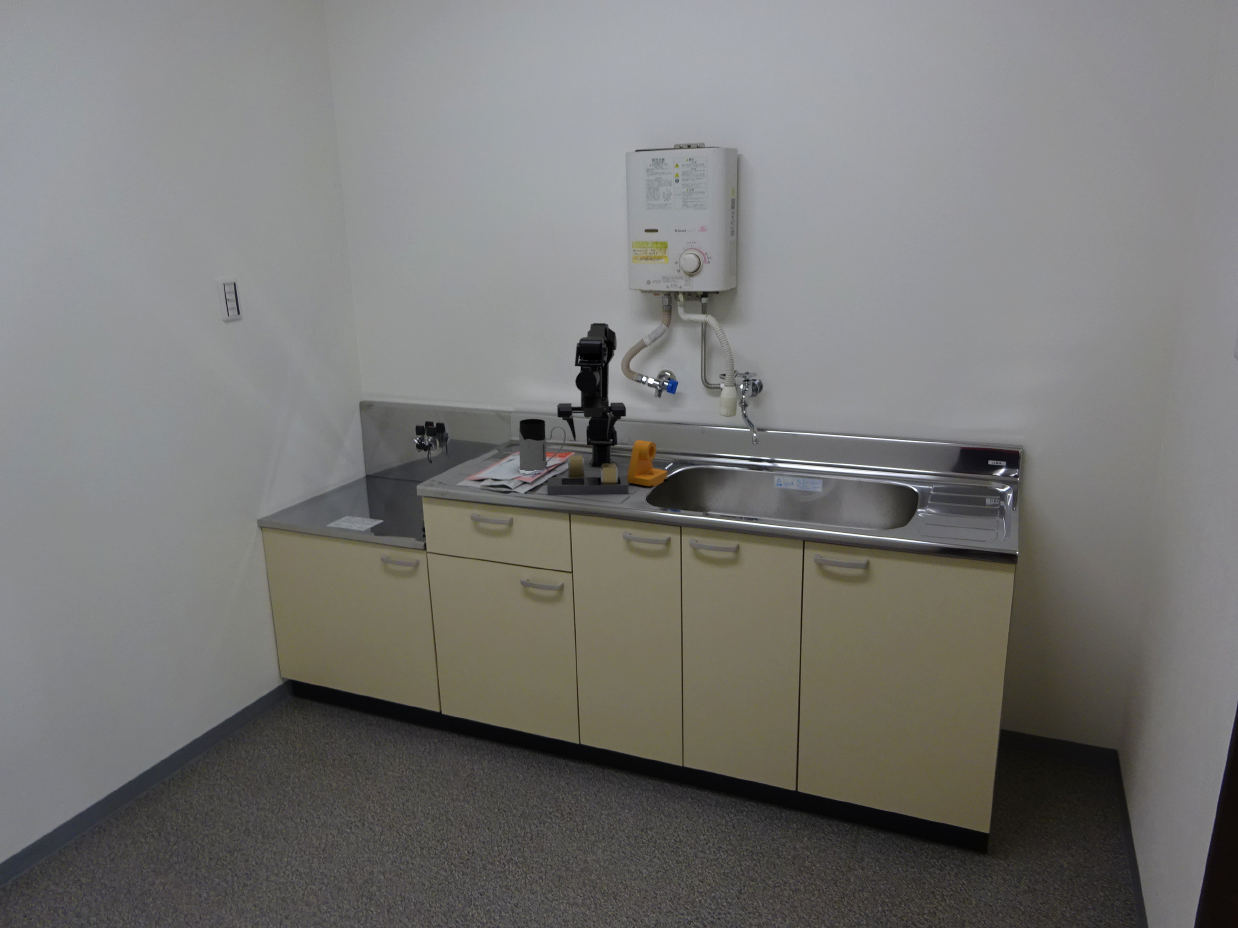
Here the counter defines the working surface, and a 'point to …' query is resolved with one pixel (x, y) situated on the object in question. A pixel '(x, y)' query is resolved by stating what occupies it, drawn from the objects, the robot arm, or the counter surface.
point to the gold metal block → (576, 466)
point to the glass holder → (534, 444)
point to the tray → (585, 486)
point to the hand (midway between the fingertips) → (591, 440)
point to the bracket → (644, 465)
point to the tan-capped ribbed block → (609, 474)
